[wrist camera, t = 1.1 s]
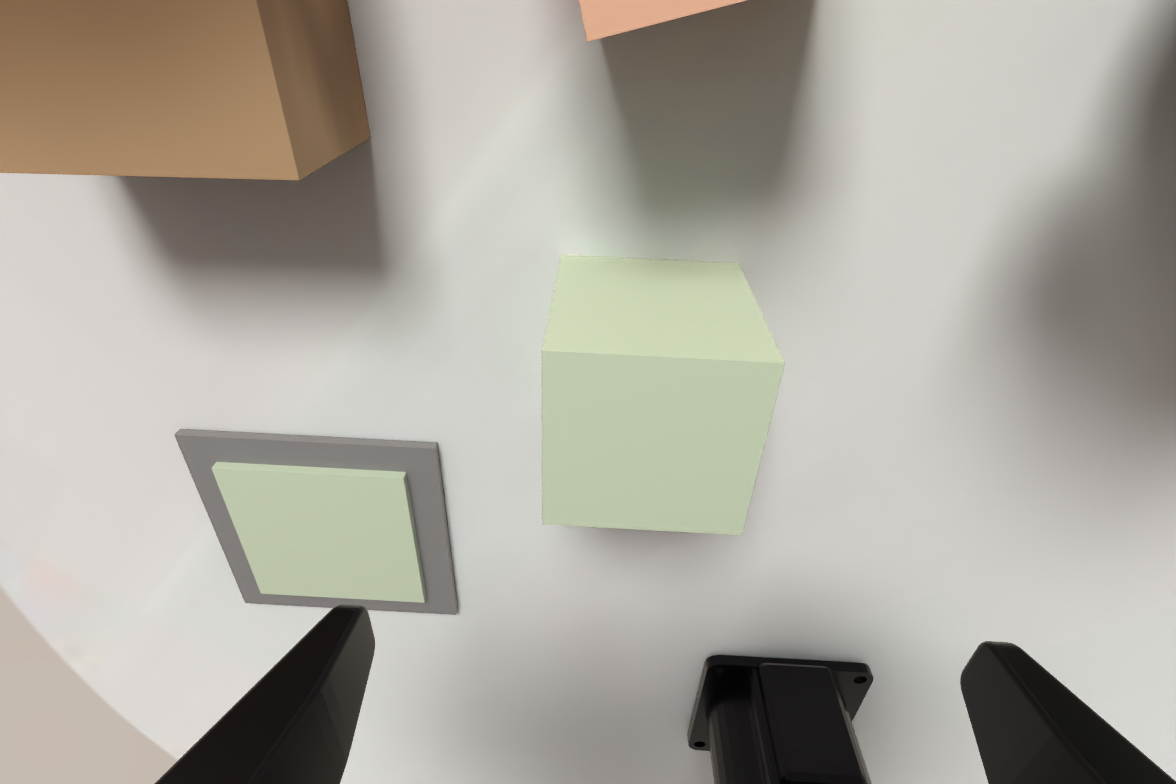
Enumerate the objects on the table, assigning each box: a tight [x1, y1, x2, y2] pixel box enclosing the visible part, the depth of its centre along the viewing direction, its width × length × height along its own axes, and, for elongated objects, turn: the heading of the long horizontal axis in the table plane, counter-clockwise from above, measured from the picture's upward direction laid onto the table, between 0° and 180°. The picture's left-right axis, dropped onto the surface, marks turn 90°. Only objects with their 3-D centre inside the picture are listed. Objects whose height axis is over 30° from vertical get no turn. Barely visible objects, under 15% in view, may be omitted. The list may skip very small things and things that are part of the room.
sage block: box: [542, 254, 785, 535], centre depth 15 cm, size 4×4×5 cm
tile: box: [175, 429, 458, 615], centre depth 21 cm, size 8×8×1 cm
